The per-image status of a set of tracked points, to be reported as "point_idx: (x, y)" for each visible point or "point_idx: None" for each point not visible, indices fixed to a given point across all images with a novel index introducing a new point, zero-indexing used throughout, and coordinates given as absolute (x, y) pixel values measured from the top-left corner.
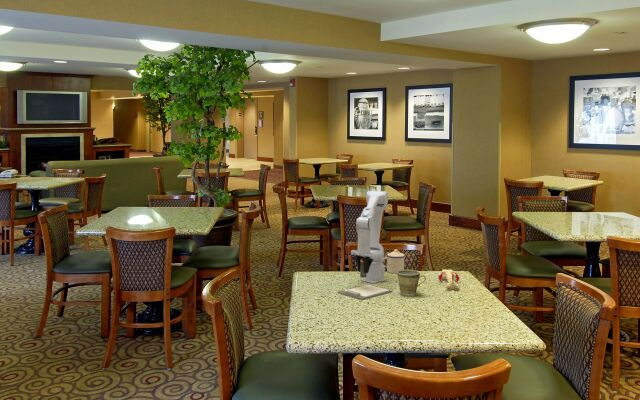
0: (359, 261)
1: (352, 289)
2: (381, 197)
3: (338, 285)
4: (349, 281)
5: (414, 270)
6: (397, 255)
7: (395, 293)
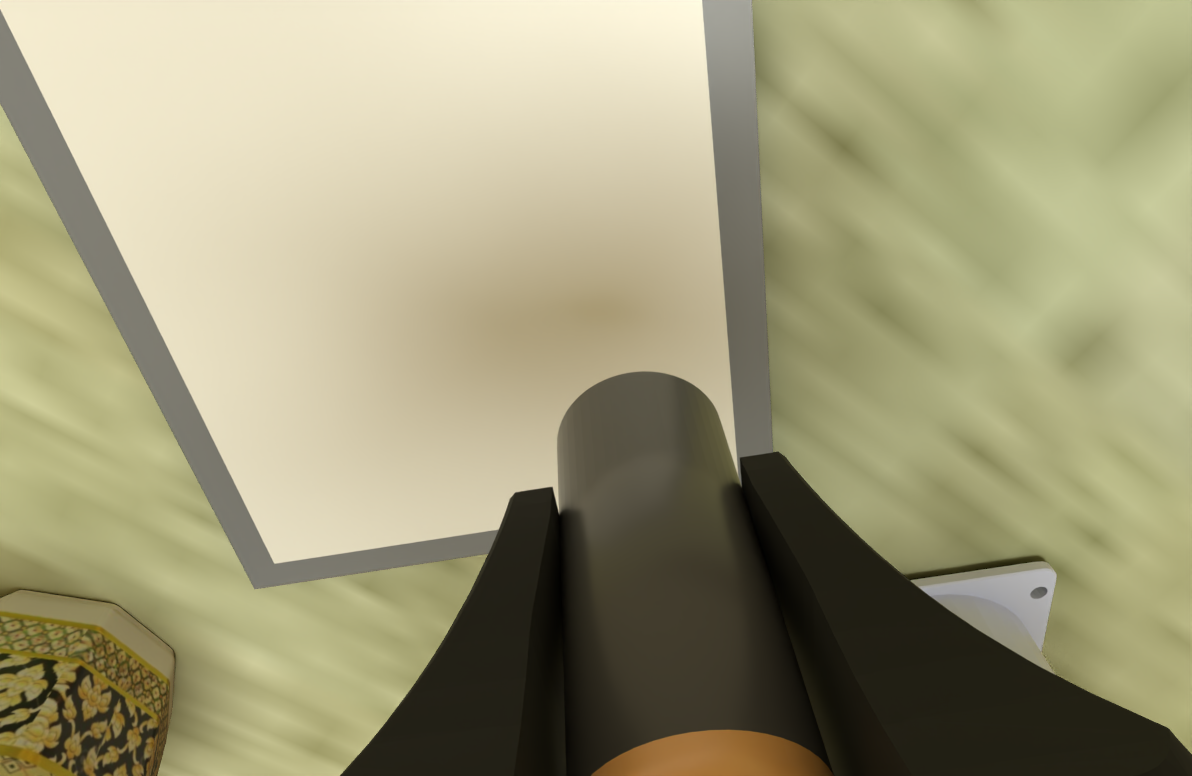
0: (852, 735)
1: (640, 42)
2: None
3: (1178, 60)
4: (1171, 400)
5: None
6: None
7: (162, 564)
